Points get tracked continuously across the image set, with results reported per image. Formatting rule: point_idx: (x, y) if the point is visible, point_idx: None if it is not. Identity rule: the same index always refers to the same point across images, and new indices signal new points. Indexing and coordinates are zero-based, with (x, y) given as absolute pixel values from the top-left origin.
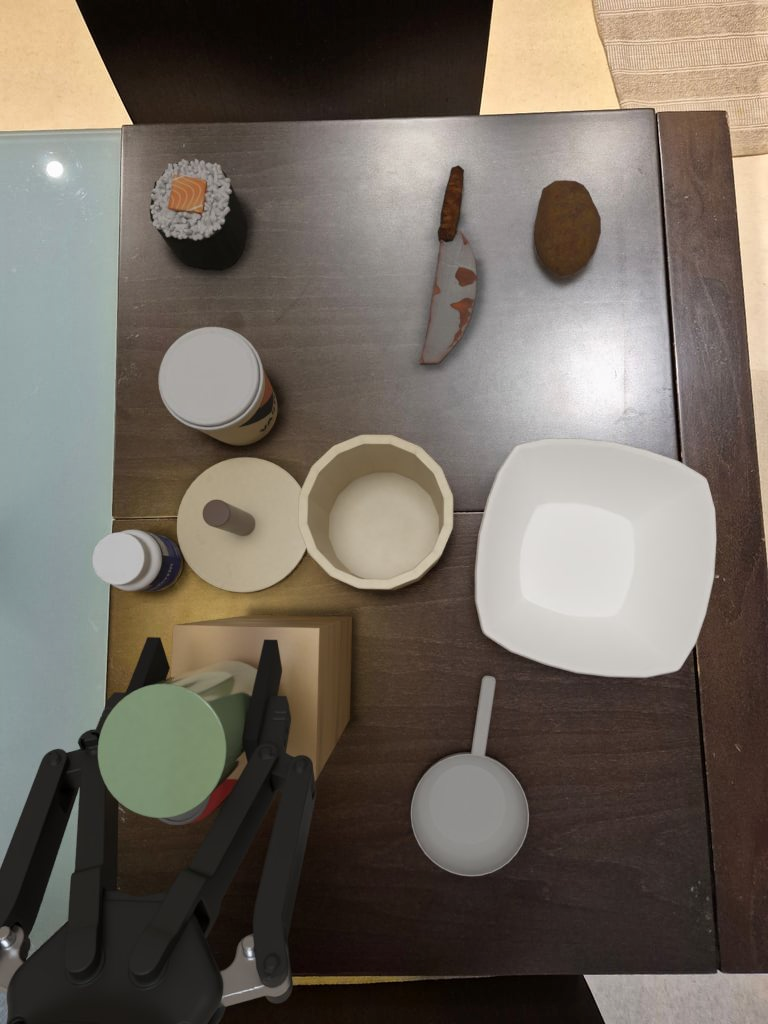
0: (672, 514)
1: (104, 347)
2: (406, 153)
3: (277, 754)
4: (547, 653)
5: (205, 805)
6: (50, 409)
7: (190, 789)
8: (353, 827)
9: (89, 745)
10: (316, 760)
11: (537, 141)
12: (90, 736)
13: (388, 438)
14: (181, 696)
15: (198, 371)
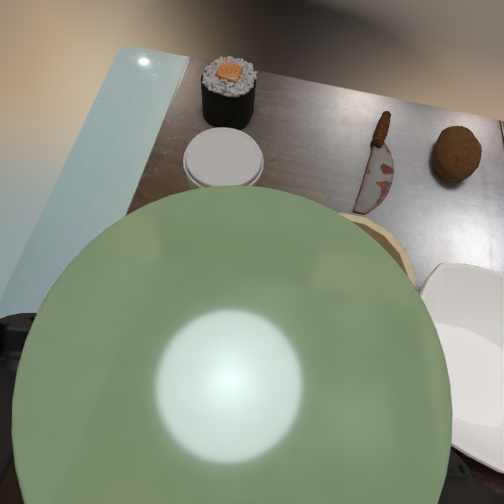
0: None
1: (140, 154)
2: (354, 102)
3: (469, 472)
4: (469, 445)
5: None
6: (89, 181)
7: None
8: None
9: (14, 346)
10: None
11: (432, 114)
12: (26, 323)
13: (364, 220)
14: (323, 225)
15: (217, 152)
